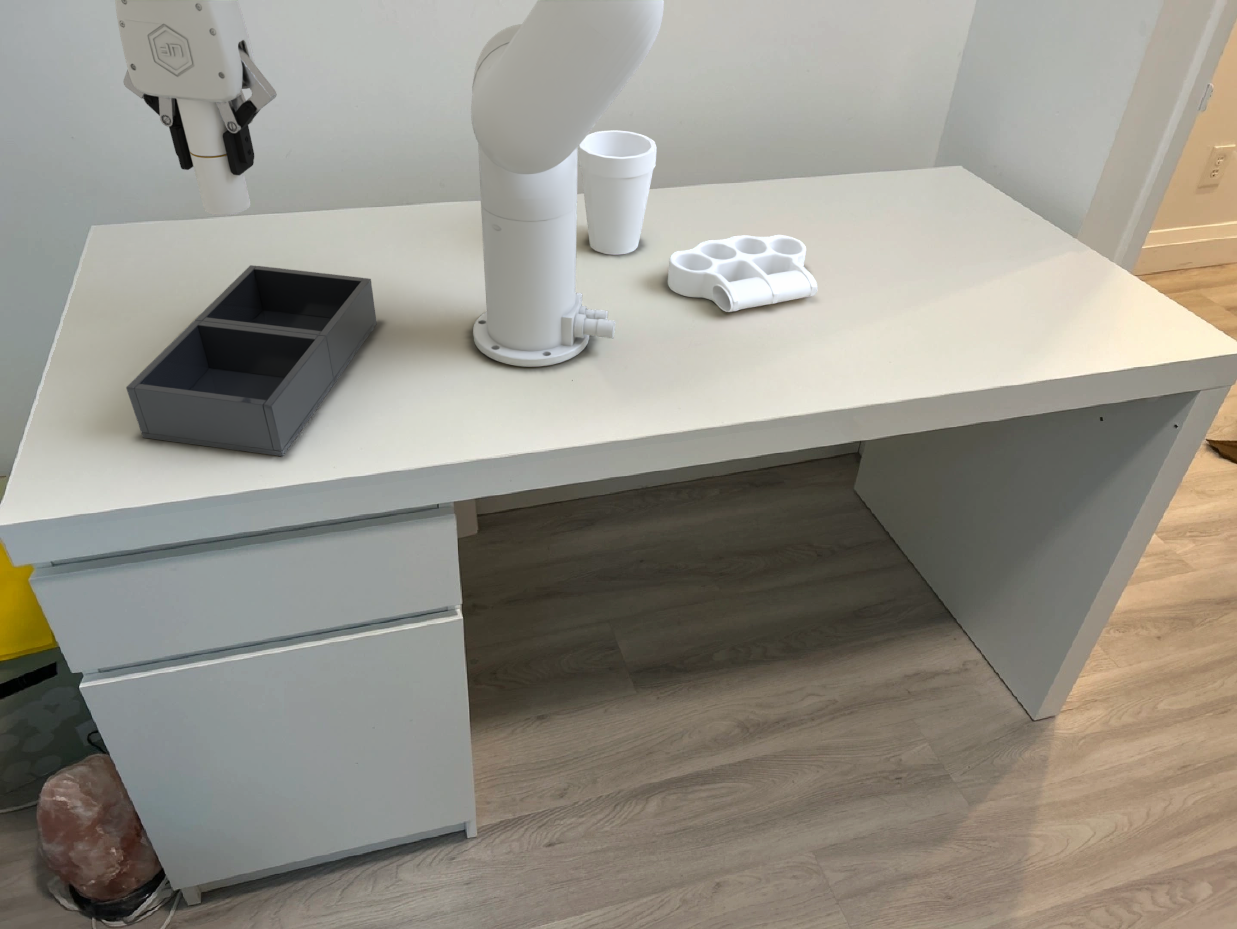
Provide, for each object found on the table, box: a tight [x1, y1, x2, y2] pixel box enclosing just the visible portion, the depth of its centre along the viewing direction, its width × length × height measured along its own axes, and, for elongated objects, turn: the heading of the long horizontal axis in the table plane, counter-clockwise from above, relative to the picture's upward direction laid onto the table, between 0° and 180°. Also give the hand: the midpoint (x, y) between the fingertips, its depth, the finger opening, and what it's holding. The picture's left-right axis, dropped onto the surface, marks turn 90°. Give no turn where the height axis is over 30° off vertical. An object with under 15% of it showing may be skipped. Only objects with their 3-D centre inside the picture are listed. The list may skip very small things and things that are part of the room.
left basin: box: [125, 320, 335, 457], centre depth 91 cm, size 14×12×6 cm
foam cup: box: [577, 129, 658, 256], centre depth 120 cm, size 10×9×13 cm
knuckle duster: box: [667, 234, 819, 313], centre depth 116 cm, size 3×18×15 cm
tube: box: [177, 99, 251, 216], centre depth 88 cm, size 4×4×15 cm
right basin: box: [194, 265, 378, 385], centre depth 100 cm, size 14×12×6 cm
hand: (217, 165), depth 91 cm, fingers closed on tube, 4 cm apart
